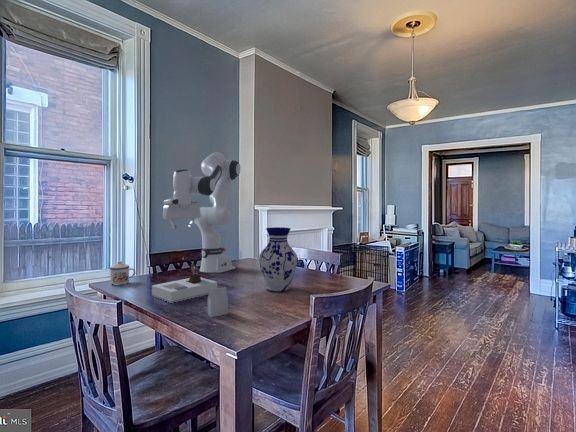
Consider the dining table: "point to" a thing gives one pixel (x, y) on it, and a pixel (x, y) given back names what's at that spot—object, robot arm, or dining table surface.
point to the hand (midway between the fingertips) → (182, 227)
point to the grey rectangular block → (217, 302)
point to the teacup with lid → (120, 273)
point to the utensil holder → (194, 276)
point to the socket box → (182, 289)
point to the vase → (278, 261)
